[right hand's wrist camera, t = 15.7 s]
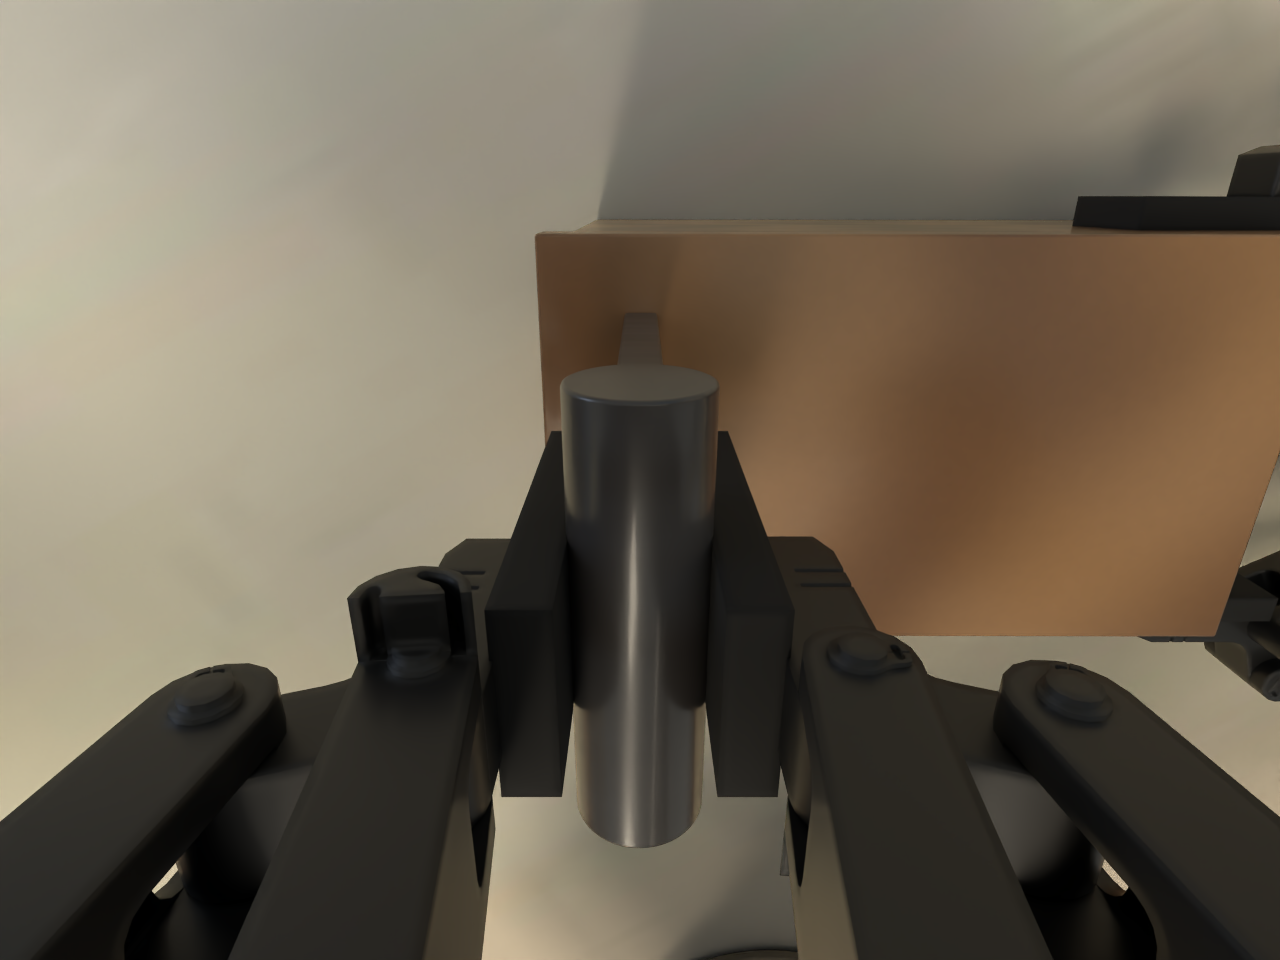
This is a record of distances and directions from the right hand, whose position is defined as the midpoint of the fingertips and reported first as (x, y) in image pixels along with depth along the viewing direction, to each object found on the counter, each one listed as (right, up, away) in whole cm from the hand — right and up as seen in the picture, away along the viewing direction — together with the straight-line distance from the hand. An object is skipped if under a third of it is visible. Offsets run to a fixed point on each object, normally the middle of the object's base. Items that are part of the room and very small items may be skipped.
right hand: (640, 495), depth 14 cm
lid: (+6, +1, +3) cm, 7 cm away
